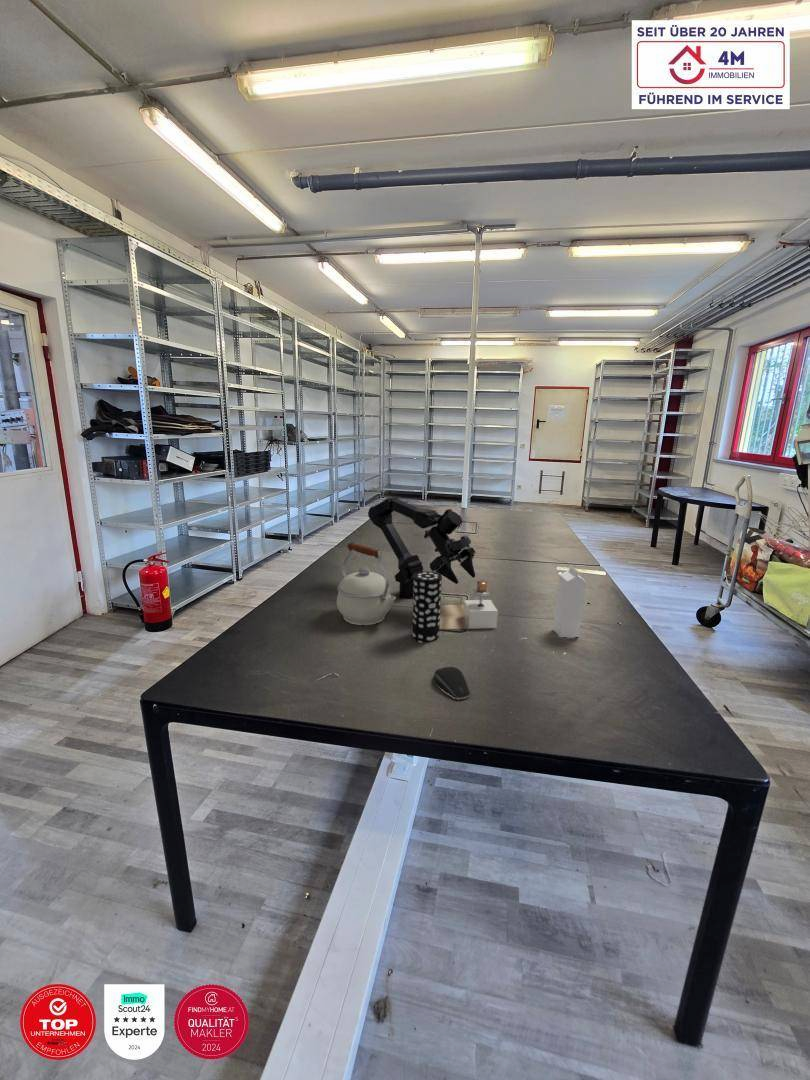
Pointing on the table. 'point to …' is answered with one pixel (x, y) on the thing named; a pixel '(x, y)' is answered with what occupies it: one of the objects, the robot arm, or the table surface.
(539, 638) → the table surface
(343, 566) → the kettle
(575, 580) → the milk
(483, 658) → the table surface
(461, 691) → the computer mouse
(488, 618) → the white square block
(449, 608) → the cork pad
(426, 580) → the white-spotted black cylinder
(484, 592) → the plunger
